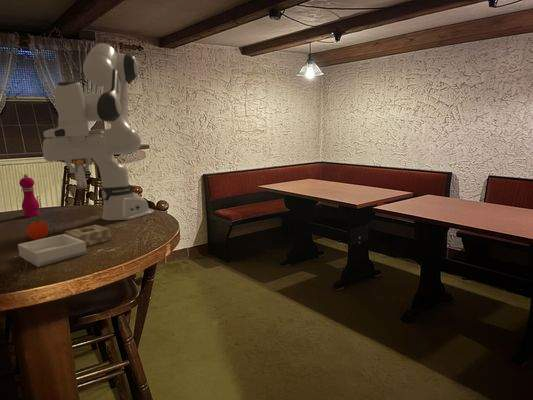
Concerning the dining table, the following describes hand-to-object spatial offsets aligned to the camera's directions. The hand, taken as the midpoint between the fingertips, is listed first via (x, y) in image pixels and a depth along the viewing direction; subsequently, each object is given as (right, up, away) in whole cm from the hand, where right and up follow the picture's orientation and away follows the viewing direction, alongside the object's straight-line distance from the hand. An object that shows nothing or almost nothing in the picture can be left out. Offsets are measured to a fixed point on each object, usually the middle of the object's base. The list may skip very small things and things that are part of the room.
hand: (79, 172), depth 130 cm
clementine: (-20, -24, +9) cm, 33 cm away
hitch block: (+1, -24, +5) cm, 25 cm away
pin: (0, -6, +1) cm, 6 cm away
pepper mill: (-49, -17, +52) cm, 73 cm away
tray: (-4, -27, -10) cm, 29 cm away
